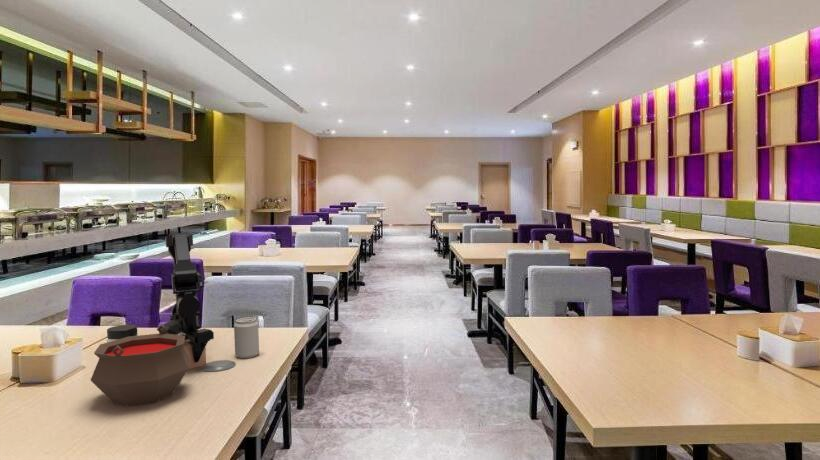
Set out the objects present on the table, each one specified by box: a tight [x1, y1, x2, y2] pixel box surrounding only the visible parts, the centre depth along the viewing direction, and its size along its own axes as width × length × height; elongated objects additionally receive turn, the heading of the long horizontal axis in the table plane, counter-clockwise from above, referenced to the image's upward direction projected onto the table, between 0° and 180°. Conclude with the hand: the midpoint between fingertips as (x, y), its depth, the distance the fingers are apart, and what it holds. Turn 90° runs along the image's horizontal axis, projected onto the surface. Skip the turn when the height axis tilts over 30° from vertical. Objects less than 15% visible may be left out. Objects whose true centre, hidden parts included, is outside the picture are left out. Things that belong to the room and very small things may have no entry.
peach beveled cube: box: [183, 339, 207, 370], centre depth 163 cm, size 7×7×7 cm
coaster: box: [199, 359, 236, 373], centre depth 161 cm, size 10×10×1 cm
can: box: [233, 316, 260, 359], centre depth 172 cm, size 8×8×12 cm
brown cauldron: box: [90, 323, 190, 407], centre depth 138 cm, size 24×24×16 cm
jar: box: [106, 324, 139, 343], centre depth 163 cm, size 9×8×12 cm
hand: (189, 360), depth 163 cm, fingers open, 8 cm apart
